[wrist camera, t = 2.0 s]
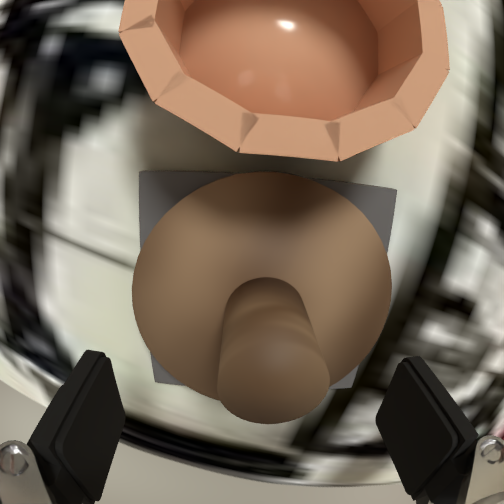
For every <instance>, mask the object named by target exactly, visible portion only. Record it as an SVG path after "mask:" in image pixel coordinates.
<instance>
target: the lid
mask: <svg viewBox="0 0 504 504" xmlns="http://www.w3.org/2000/svg"><path fill="white" fill-rule="evenodd" d="M391 289H392V282H391V270H390V265H389V261H388V257H387V253H386V251H385V248H384V246H383V243H382V241H381V239H380V237H379V235H378V234H377V232H376V230H375V228H374V227H373V225H372V224H371V223H370V222H369V220H368V219H367V218H366V217H365V215H364V214H363V213H362V212H361V211H360V210H359V209H358V208H357V207H356V206H355V205H353V204H352V203H351V202H350V201H349V200H348V199H346V198H345V197H343V196H342V195H340V194H339V193H337V192H335V191H334V190H332V189H330V188H328V187H326V186H324V185H321V184H319V183H317V182H315V181H312V180H310V179H307V178H303V177H300V176H297V175H293V174H287V173H281V172H266V171H255V172H248V173H240V174H235V175H231V176H228V177H224V178H221V179H218V180H215V181H213V182H211V183H209V184H206V185H204V186H202V187H200V188H199V189H197V190H195V191H194V192H192V193H191V194H189V195H187V196H186V197H185V198H183V199H182V200H181V201H179V202H178V203H177V204H176V205H175V206H174V207H172V208H171V209H170V210H169V211H168V212H167V213H166V214H165V215H164V216H163V217H162V218H161V219H160V221H159V222H158V223H157V224H156V225H155V226H154V228H153V229H152V231H151V233H150V234H149V236H148V237H147V239H146V240H145V242H144V245H143V247H142V249H141V251H140V254H139V256H138V259H137V263H136V266H135V270H134V275H133V284H132V302H133V309H134V314H135V319H136V322H137V325H138V328H139V331H140V334H141V336H142V338H143V340H144V342H145V344H146V346H147V347H148V349H149V350H150V352H151V353H152V354H153V356H154V357H155V359H156V360H157V361H158V362H159V363H160V364H161V365H162V367H163V368H164V369H165V370H166V371H168V372H169V373H170V374H171V375H172V376H173V377H174V378H176V379H177V380H178V381H180V382H181V383H183V384H184V385H186V386H187V387H189V388H191V389H193V390H195V391H196V392H198V393H200V394H203V395H205V396H208V397H210V398H213V399H216V400H220V401H221V403H222V404H223V405H224V407H225V408H226V409H227V410H228V411H230V412H231V413H232V414H234V415H235V416H237V417H239V418H241V419H244V420H247V421H250V422H254V423H261V424H277V423H283V422H288V421H291V420H295V419H297V418H300V417H302V416H304V415H306V414H307V413H309V412H310V411H312V410H313V409H314V408H316V407H317V406H318V405H319V404H320V403H321V401H322V400H323V399H324V397H325V395H326V394H327V391H328V389H329V387H330V386H332V385H334V384H336V383H337V382H339V381H340V380H341V379H343V378H344V377H345V376H347V375H348V374H349V373H350V372H351V371H352V370H353V369H354V368H356V367H357V366H358V365H359V364H360V363H361V361H362V360H363V359H364V358H365V357H366V355H367V354H368V353H369V352H370V350H371V349H372V347H373V346H374V344H375V343H376V341H377V339H378V337H379V335H380V333H381V331H382V329H383V327H384V324H385V321H386V318H387V315H388V311H389V306H390V301H391Z"/></svg>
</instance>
